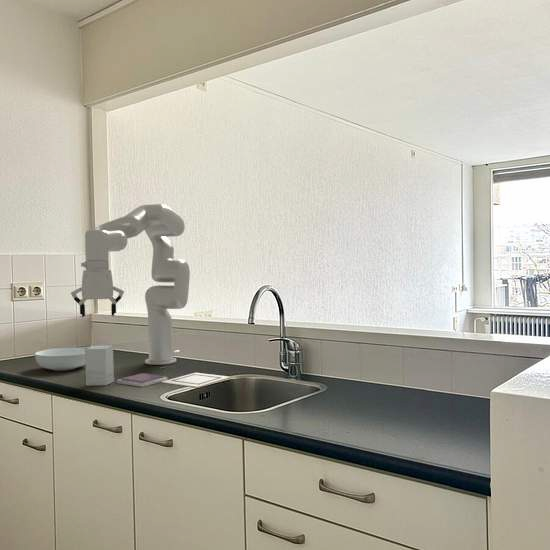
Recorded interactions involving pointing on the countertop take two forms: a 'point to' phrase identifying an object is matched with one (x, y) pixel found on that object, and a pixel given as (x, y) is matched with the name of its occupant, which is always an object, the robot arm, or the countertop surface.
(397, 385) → the countertop surface
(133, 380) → the ink pad
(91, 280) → the robot arm
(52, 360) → the serving bowl
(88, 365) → the supplement box
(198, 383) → the print sheet
